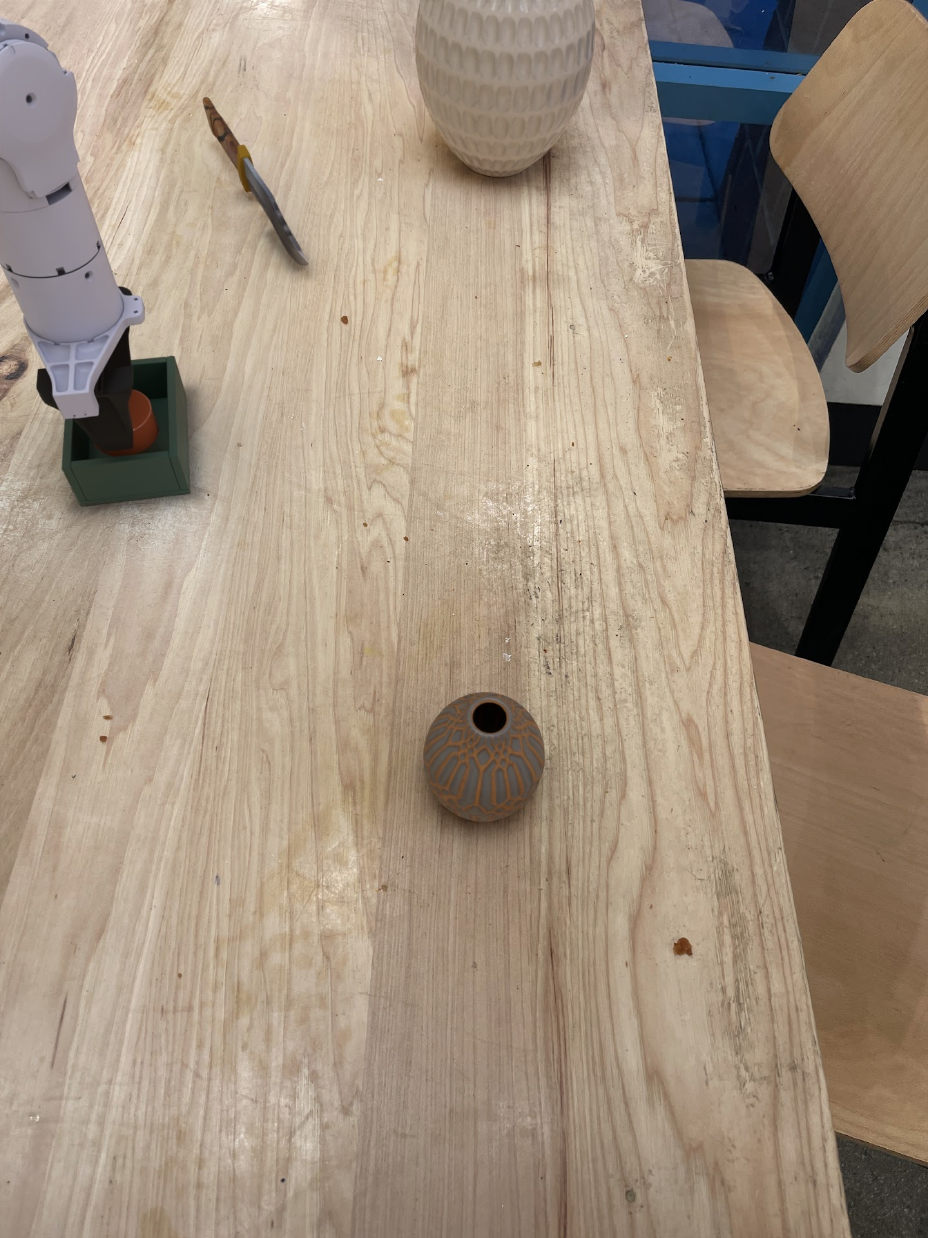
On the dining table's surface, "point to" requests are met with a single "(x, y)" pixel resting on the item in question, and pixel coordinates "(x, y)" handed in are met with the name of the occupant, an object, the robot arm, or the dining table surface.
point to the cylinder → (139, 425)
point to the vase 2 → (483, 756)
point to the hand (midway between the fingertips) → (118, 419)
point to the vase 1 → (503, 75)
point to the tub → (145, 471)
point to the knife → (252, 180)
